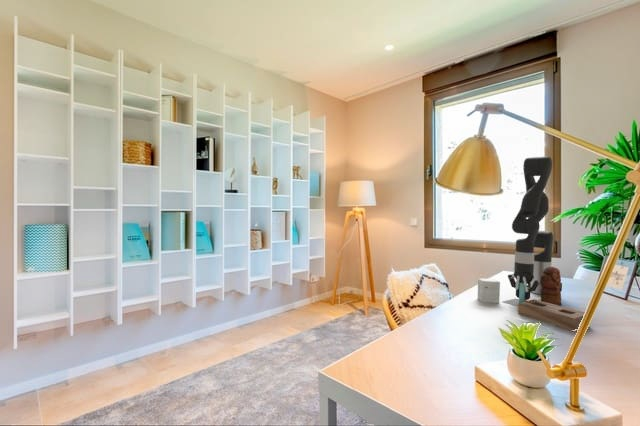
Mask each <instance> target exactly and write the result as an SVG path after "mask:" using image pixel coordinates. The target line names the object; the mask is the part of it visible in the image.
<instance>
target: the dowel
mask: <svg viewBox="0 0 640 426" xmlns="http://www.w3.org/2000/svg"><path fill="white" fill-rule="evenodd" d="M525 292H526V291H525V287H524V283H520V284H519V298H518V299H519V303H520V302H524V301H528V300H525Z"/></svg>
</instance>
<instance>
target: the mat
mask: <svg viewBox="0 0 640 426" xmlns="http://www.w3.org/2000/svg"><path fill="white" fill-rule="evenodd" d="M502 303H504V304H507V305H509V306H510V305H511V306H514V307H517V308H518V303H519V298H517V297H516V298H512V299H506V300H503V301H502Z"/></svg>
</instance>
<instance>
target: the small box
mask: <svg viewBox="0 0 640 426" xmlns="http://www.w3.org/2000/svg"><path fill="white" fill-rule="evenodd" d="M500 285H501V281H499V280H498V279H495V278H478V279H477V299H478V300H479V301H480V302H482V303H493V304H495V303H498V304H500V292H501V290H500V289H501V286H500Z"/></svg>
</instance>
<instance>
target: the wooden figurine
mask: <svg viewBox="0 0 640 426" xmlns="http://www.w3.org/2000/svg"><path fill="white" fill-rule="evenodd" d="M561 279H562V278H561V271H560V269H558V268H557V267H554V266H551V267H547V268H545V270H544V271H543V274H542V276H541V283H540V284H541V286H542V289H541V294H540V301H543V302H546V303H550V304H554V305H558V306H561V305H562V294H561V292H562V290H563V283H562V282H561V281H562V280H561Z"/></svg>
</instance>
